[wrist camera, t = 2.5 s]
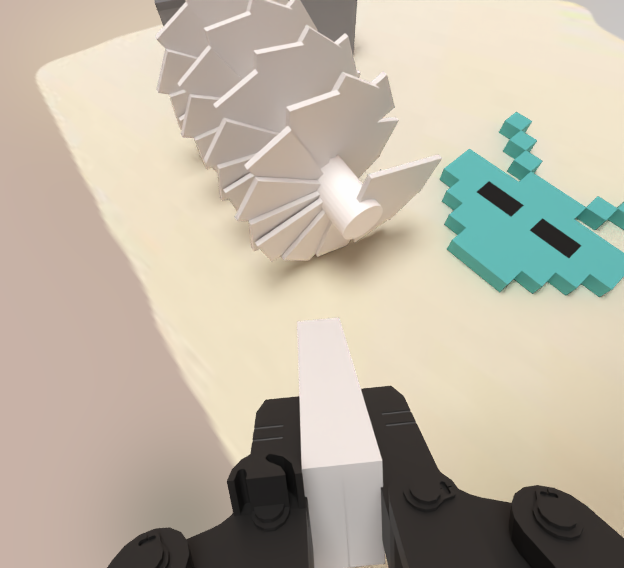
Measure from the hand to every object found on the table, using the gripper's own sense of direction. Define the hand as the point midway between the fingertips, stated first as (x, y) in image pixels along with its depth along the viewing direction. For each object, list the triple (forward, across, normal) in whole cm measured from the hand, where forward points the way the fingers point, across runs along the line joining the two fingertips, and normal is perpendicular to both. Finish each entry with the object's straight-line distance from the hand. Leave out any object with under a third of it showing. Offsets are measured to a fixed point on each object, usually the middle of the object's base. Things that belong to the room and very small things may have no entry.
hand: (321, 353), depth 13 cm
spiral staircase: (+33, -1, +3) cm, 33 cm away
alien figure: (+28, +25, -2) cm, 38 cm away
